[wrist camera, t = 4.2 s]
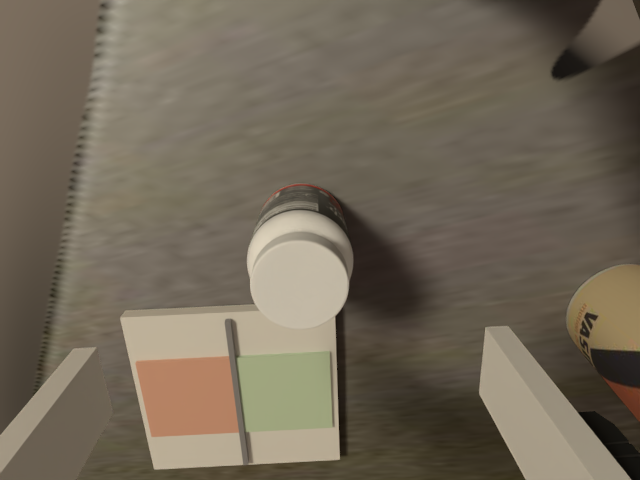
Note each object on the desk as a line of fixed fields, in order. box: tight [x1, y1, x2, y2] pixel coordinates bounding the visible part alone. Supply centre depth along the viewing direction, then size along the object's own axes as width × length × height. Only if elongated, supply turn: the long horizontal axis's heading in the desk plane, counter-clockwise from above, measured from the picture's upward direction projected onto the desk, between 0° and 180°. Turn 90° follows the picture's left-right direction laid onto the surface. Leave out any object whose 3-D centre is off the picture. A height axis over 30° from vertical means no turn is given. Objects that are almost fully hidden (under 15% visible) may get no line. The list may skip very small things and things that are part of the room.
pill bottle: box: [247, 184, 353, 330], centre depth 25 cm, size 6×6×10 cm
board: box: [120, 304, 340, 469], centre depth 34 cm, size 14×15×2 cm
